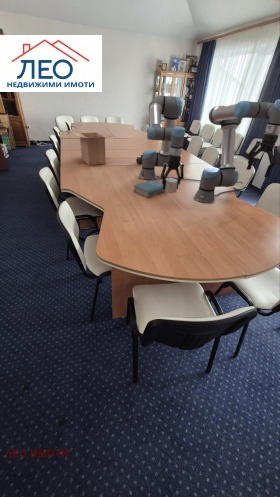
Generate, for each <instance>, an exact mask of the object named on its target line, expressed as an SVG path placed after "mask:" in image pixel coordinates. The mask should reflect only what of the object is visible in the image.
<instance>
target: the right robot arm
mask: <svg viewBox="0 0 280 497" xmlns="http://www.w3.org/2000/svg"><path fill="white" fill-rule="evenodd" d="M243 119H263V120H268V121H267V124H266V128H265V130H264V133H263V135H262V138H261V140H256V141H255V144H254V146H253V147H252V148H251V150H250V151H249V152H248V153H247V154H246V157H248V161H247V164H248V165H247V166H246V170H247V171H250V170H252V166H253V164H254V161H255V157H256V156H258V155H259V154H260V153H261V152H263V153H265V154H266V155H267V156H268V161H269V165H268V166H267V168H266V171H265V173H264V176H263V177H264V178H269V176H270V174H271V172H272V171H273V170H274V167H276V166H279V165H280V162H279V161H280V145H276V143H277V142H278V139H279V138H280V137H279V135H280V98H278V99H276V100H275V102H269V101H263V102H262V101H250V100H249V101H248V100H240V101H238V102H237V103H234V104H230V105H215V106H213V107H212V108H211V109H210V110H209V112H208V120H209V122H210V123H211V124H212V125H215V126H220V130H221V131H222V142H221V157H220V158H221V159H220V166H219V168H217V167H206V168H204V169H203V170H202V173H201V176H200V180H201V181H199V186H198V189H197V191H196V193H195V194H194V197H193V198H194V200H195V201H196V202H198V203H202V204H212V203H214V202H215V198H216V197H217V196H220V195H221V194H224V193H232V192H239V191H242V190H245V189H247V187H246V186H244V187H243V188H239V189H234V190H233V189H232V190H227V191H221V192H219V193H217V194H215V190H216V188H231V187H234V186H235V185H236V184H237V183H236V182H238V180H239V172H238V170H236V166H235V165H234V164H235V163H234V162H235V149H236V148H235V147H236V131H237V129H238V128H239V126H240V125H241V124H242V122H243V121H242V120H243Z"/></svg>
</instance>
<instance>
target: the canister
mask: <svg viewBox="0 0 280 497" xmlns="http://www.w3.org/2000/svg"><path fill="white" fill-rule="evenodd" d="M175 178H176V177H173V178H166V179H165V180H166V186H165V190H164V192H165V193H168V194H175V193H177V190H178V189H177V184H178V180H177V179H175Z"/></svg>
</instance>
